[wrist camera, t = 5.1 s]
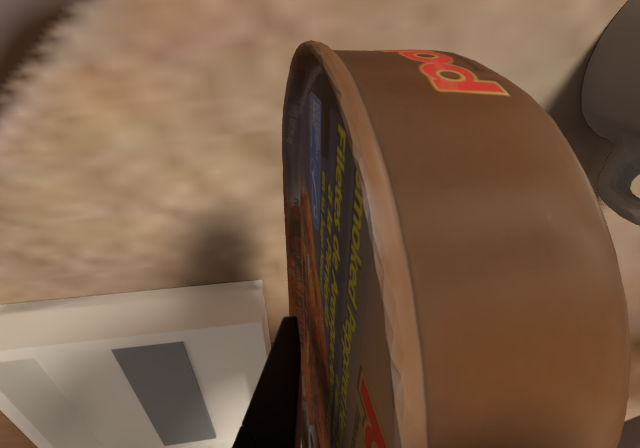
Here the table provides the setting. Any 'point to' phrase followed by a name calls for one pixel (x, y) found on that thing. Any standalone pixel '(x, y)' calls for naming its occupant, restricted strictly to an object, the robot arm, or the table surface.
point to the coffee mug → (617, 108)
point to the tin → (445, 261)
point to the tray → (134, 366)
